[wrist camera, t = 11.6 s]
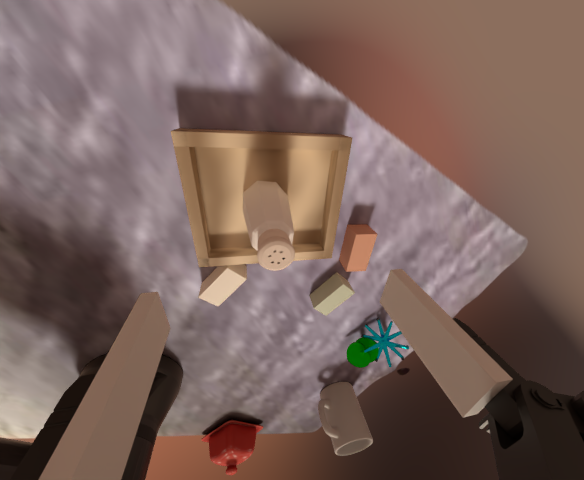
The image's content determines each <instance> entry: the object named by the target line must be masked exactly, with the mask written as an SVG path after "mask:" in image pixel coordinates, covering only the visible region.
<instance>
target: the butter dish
mask: <svg viewBox="0 0 584 480" xmlns="http://www.w3.org/2000/svg"><path fill="white" fill-rule="evenodd" d="M262 428H263V426H261V425H256V424H251V423H246V422H241V421H236V420H229V421H227V422H226V423H224V424H223V425H221V426H220V427H218V428H217V429H215V430H214V431H212V432H211V433H209V434H208V435H206V436H205V437H203V438H202V441H204V442H209V449H210V450H209V451H210V459H211V461H212V462H213V463H215V464H218V465H221V466H227V470H226V474H228V475H233V474H235V473H236V472H237V468H236V465H237V464H240V463H241V462H243V461H245V460H246V459H247V458H249V457H250V455H251V454H252V453H253V450H254V446H255V439H256V433H257V432H259V431H260V430H261V429H262Z"/></svg>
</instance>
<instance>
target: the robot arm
mask: <svg viewBox="0 0 584 480" xmlns="http://www.w3.org/2000/svg"><path fill="white" fill-rule="evenodd" d="M380 303H381V305H382V306H383V307H384V309H385V310H386V312H387V313H388V314H389V316H390V317H391V319H392V320H393V321H394V323H395V324H396V325H397V327H398V328H399V330H400V331H401V332H402V334H403V335H404V337H405V338H406V339H407V341H408V342H409V344H410V345H411V346H412V348H413V349H414V350H415V352H416V353H417V355H418V356H419V357H420V358H421V360H422V362H423V363H424V364H425V366H426V367H427V368H428V370H429V371H430V372H431V374H432V375H433V377H434V378H435V380H436V381H437V382H438V384H439V385H440V387H441V388H442V389H443V391H444V392H445V393H446V395H447V396H448V398H449V399H450V400H451V402H452V403H453V404H454V406H455V407H456V409H457V410H458V411H459V413H460V414H461V416H462V417H467V416H471V415H475V414H478V413H479V412H480V411H481V410H482V409H483V408H484V407H485V408H486V409H487V410H488V411H489V414H488V415H487V416H485V417H484V418H483V420H481V421H480V423H479V428H481V429H483V428H484V427H485V426H486V425H487V424H489V428H488V429H487V432H488V433H490V434H491V439H492V445H493V450H494V455H495V460H496V465H497V471H498V476H499V480H584V391H582V392H581V393H579V394H578V395H577V396H568V395H563V394H557V393H553V392H552V391H550V390H549V389H548V388H546V387H544V386H543V385H541V384H539V383H536V382H533V381H526V380H525V379H524V378H522V377H521V376H520V375H519V374H518V373H517V372H516V371H515V370H514V369H513V368H512V367H510V366H509V365H508V364H507V363H506V362H505V361H504V360H503V359H502V358H501V357H500V356H499V355H498V354H497V353H496V352H495V351H494V350H493V349H491V348H490V347H489V346H488V345H486V343H485V342H484V341H483V340H482V339H481V338H480V337H478V335H477V334H476V333H475V332H474V331H473V330H472V329H471V328H470V327H468V326H467V325H466V324H464V323H463V322H461V321H460V320H458V319H456V318H454V319H452V318H451V317H450V316H449V315H448V314H447V313H446V312H445V311H444V310H443V309H442V308H441V307H440V306H439V305H438V304H437V303H436V302H435V301H434V300H433V299H432V298H431V297H430V296H429V295H428V294H427V293H425V292H424V291H423V290H422V289H421V288H420V287H419V286H418V285H417V284H416V283H415V282H414V281H413V280H412V279H411V278H410V277H409V276H408V275H407V274H406V273H405V272H404V271H403V270H402V269H396V270H391V271H390V274H389V276H388V279H387V282H386V285H385V288H384V291H383V294H382V297H381V300H380ZM169 331H170V325H169V322H168V320H167V317H166V314H165V311H164V308H163V305H162V302H161V300H160V297H159V294H158V292H151V293H141V294H140V296H139V298H138V300H137V301H136V303H135V305H134V307H133V309H132V310H131V312H130V314H129V316H128V318H127V320H126V321H125V323H124V325H123V327H122V329H121V331H120V332H119V334H118V336H117V338H116V340H115V341H114V343H113V345H112V347H111V349H110V351H109V352H108V354H107V355H103V356H101V357H98V358H96V359H94V360H93V361H91V362H90V363H88V364H87V365H86V366H85V368H84V369H83V371H82V372H81V374H80V376H79V377H78V379H77V380H76V381H75V382H74V383H73V384H72V385H71V386H70V387H69V388H68V389H67V390H66V391H65V392H64V394H63V396H62V397H61V399H60V400H59V402H58V404H57V405H56V407H55V408H54V412H53V413H51V415H50V416H49V418H48V420H47V421H46V423H45V424H44V428H43V429H41V431H40V432H39V434H38V436H37V437H36V439H35V440H34V442H33V443H30V442H23V441H18V440H12V439H6V438H0V480H145V478H146V474H147V470H148V466H149V463H150V459H151V455H152V451H153V447H154V444H155V440H156V436H157V433H158V430H159V428H160V426H161V424H162V422H163V421H164V419H165V417H166V415H167V413H168V411H169V410H170V408H171V406H172V404H173V402H174V400H175V399H176V397H177V395H178V393H179V390H180V387H181V383H182V378H183V372H182V369H181V368H180V366H179V365H178V364H177V363H176V362H174V361H173V360H171V359H170V358H167V357H165V356H163V355H162V353H163V350H164V346H165V343H166V340H167V337H168V334H169Z"/></svg>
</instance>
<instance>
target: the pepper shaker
mask: <svg viewBox="0 0 584 480" xmlns="http://www.w3.org/2000/svg"><path fill="white" fill-rule="evenodd" d="M243 214H244V218H245V222H246V226H247V230H248V234H249V238H250V242H251V245H252V247H253V248H255V249H256V250H257V251H258V252H257V258H258V262H259V263H260V265H261V266H263V267H264V268H266V269H268V270H281V269H284V268H286V267H287V266H289V265H290V264H291V263H292V261H293V259H294V257H295V250H294V247H293V245H292V242H293V235H294V228H293V222H292V217H291V211H290V206H289V200H288V196H287V194H286V193H285V192H284V191H283V190H282V188H281V187H280V186H279V185H278V184H277V182H269V181H256V182H255V183H254V184H253V185H251V186H250V187H249V188H248V189H247V190H246V191H244V192H243Z"/></svg>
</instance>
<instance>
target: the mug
mask: <svg viewBox="0 0 584 480" xmlns="http://www.w3.org/2000/svg"><path fill="white" fill-rule="evenodd" d="M320 398H321V400H320V401H319V404H318V410H319V416H320V420H321V423H322V426H323V428H324V430H325V432H326V433H327V434H328V435H329V436H331V439H332V443H333V447H334V451H335V453H336V454H337V455H341V456H342V455H350V454H353V453H356V452H359V451H361V450H363V449H365V448H367V447H368V446H370V445H371V444H372V442H373V440H372V436H371V434H370V431H369V429H368V426H367V424H366V421H365V418H364V416H363V413H362V411H361V408H360V405H359V403H358V400H357V398H356V395H355V392H354V389H353V387H352V385H351V384H350V383H349V382H336V383H333V384H331V385H329V386H327V387H325V388H324V389H323V390H322V391H321V393H320Z"/></svg>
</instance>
